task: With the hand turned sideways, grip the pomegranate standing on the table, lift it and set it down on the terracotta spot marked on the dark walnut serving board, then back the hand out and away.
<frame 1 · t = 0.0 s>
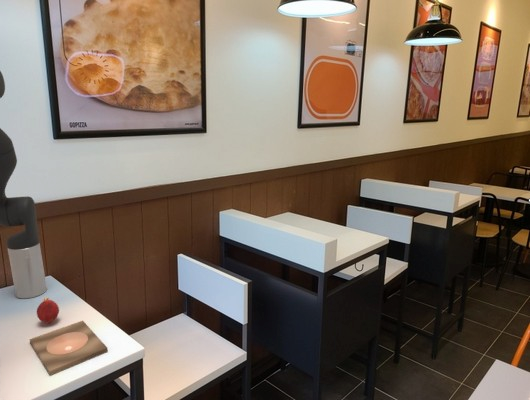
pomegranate: (49, 323, 122), on the table
serving board: (68, 347, 110), on the table
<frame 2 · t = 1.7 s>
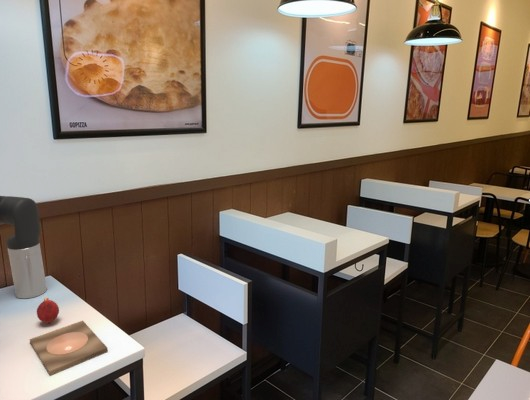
nothing on the table moved.
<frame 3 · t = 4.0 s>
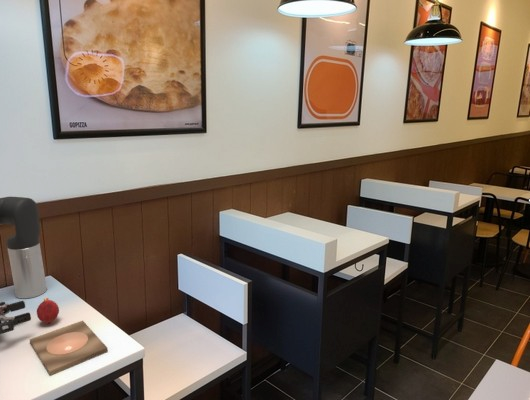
hand: (27, 309, 117), 6 cm above the table, tool horizontal, fingers open, 8 cm apart
nothing on the table moved.
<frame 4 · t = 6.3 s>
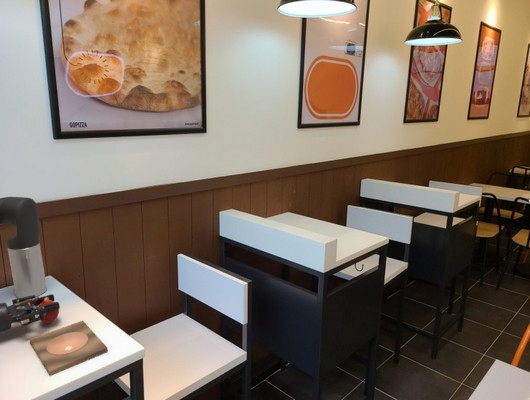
hand: (56, 301, 122), 6 cm above the table, tool horizontal, fingers closed on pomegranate, 5 cm apart
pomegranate: (49, 323, 122), on the table, touching gripper
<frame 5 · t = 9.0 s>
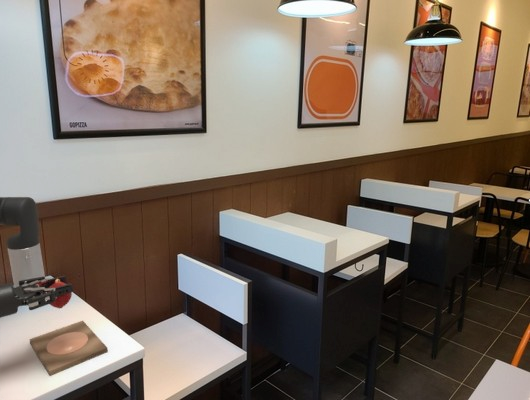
hand: (68, 283, 107), 18 cm above the table, tool horizontal, fingers closed on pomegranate, 5 cm apart
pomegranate: (60, 308, 107), point 12 cm above the table, touching gripper
when the fingers open (8 cm above the table, at t = 11.7 s): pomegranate stays where it is, resting on serving board.
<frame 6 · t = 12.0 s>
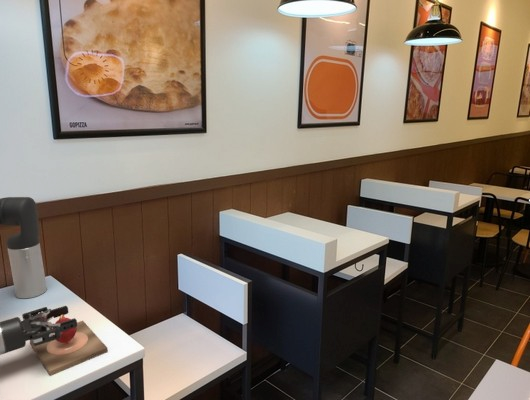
hand: (72, 315, 109), 9 cm above the table, tool horizontal, fingers open, 8 cm apart
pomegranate: (67, 343, 109), point 1 cm above the table, touching serving board
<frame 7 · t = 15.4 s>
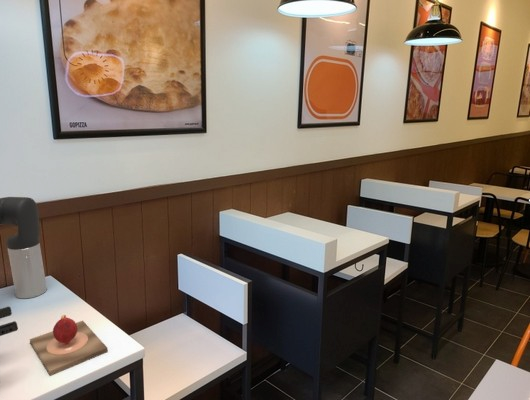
hand: (14, 317, 100), 13 cm above the table, tool horizontal, fingers open, 8 cm apart
nothing on the table moved.
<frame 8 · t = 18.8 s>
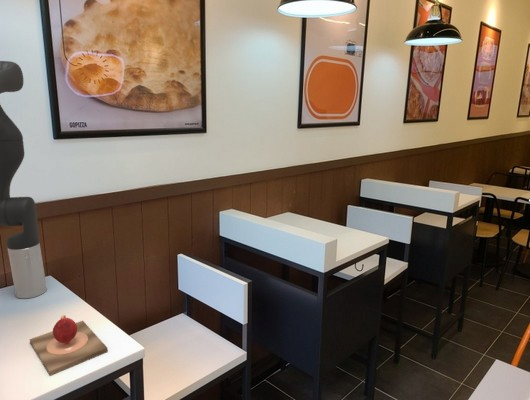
nothing on the table moved.
at the end: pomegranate 0.1 cm off-centre on the serving board, point 1.2 cm above the serving board's base; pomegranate tilted 0°; the gripper is holding nothing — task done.
